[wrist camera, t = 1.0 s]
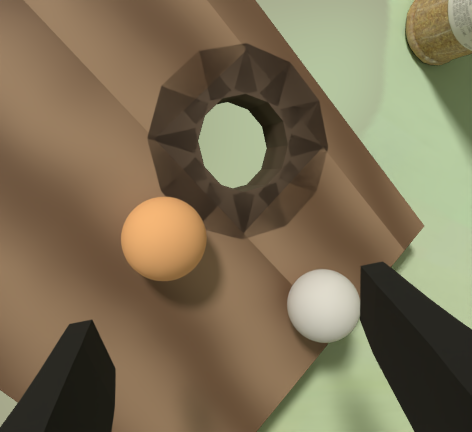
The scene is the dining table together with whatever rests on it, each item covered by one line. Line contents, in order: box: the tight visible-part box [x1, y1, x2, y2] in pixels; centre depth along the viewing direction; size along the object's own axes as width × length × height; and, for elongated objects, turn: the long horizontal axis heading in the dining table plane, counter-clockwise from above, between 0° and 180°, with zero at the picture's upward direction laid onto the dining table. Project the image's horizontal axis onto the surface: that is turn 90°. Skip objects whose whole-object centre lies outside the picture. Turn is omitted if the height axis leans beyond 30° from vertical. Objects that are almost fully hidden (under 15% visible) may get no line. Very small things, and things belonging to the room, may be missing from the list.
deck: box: [0, 0, 424, 432], centre depth 21 cm, size 20×22×2 cm
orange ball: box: [121, 197, 207, 281], centre depth 18 cm, size 4×4×4 cm
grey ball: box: [287, 269, 360, 343], centre depth 21 cm, size 4×4×4 cm
